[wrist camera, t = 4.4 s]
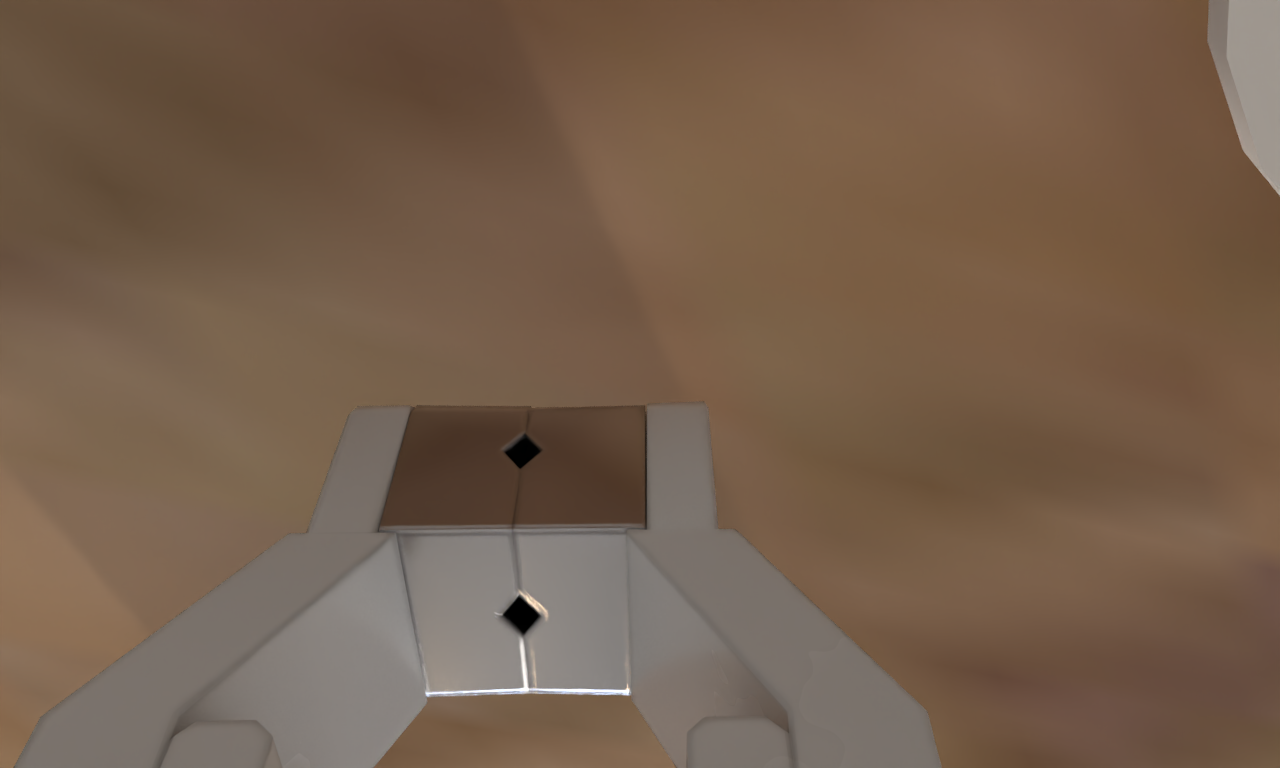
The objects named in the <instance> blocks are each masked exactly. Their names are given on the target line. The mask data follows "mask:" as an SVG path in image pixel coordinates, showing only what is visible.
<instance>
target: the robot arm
mask: <svg viewBox="0 0 1280 768" xmlns="http://www.w3.org/2000/svg"><path fill="white" fill-rule="evenodd" d="M646 445H647V458H646ZM524 693H537V694H594V695H632V701H633V703H634V704H635V706H636V707H637V709H638V710H639V712H640V713H641V715H642V716H643V718H644V719H645V721H646V722H647V724H648V725H649V727H650V728H651V730H652V731H653V733H654V734H655V736H656V737H657V739H658V740H659V742H660V743H661V745H662V746H663V748H664V749H665V751H666V752H667V754H668V755H669V757H670V759H671V760H672V762H673V763H674V765H675V766H676V768H942V767H941V763H940V759H939V756H938V752H937V748H936V744H935V740H934V736H933V732H932V728H931V724H930V720H929V716H928V712H927V710H925V709H924V708H923V707H922V706H921V705H920V704H919V703H918V702H917V701H916V700H915V699H914V698H913V697H912V696H911V695H910V694H909V693H908V692H907V691H905V690H904V689H903V688H902V687H901V686H900V685H899V684H898V683H897V682H896V681H895V680H894V679H893V678H892V677H891V676H890V675H889V674H888V673H887V672H886V671H884V670H883V669H882V668H881V667H880V666H879V665H878V664H877V663H876V662H875V661H874V660H873V659H872V658H871V657H870V656H869V655H868V654H867V653H866V652H864V651H863V650H862V649H861V648H860V647H859V646H858V645H857V644H856V643H855V642H854V641H853V640H852V639H851V638H850V637H849V636H848V635H847V634H846V633H845V632H843V631H842V630H841V629H840V628H839V627H838V626H837V625H836V624H835V623H834V622H833V621H832V620H831V619H830V618H829V617H828V616H827V615H826V614H825V613H823V612H822V611H821V610H820V609H819V608H818V607H817V606H816V605H815V604H814V603H813V602H812V601H811V600H810V599H809V598H808V597H807V596H806V595H805V594H804V593H802V592H801V591H800V590H799V589H798V588H797V587H796V586H795V585H794V584H793V583H792V582H791V581H790V580H789V579H788V578H787V577H786V576H785V575H784V574H782V573H781V572H780V571H779V570H778V569H777V568H776V567H775V566H774V565H773V564H772V563H771V562H770V561H769V560H768V559H767V558H766V557H765V556H764V555H762V554H761V553H760V552H759V551H758V550H757V549H756V548H755V547H754V546H753V545H752V544H751V543H750V542H749V541H748V540H747V539H746V538H745V537H744V536H743V535H741V534H740V533H739V532H738V531H737V530H736V529H718V520H717V508H716V496H715V484H714V472H713V460H712V447H711V435H710V423H709V411H708V407H707V405H706V404H705V402H704V401H699V402H674V403H650V404H647V413H646V412H645V406H590V407H535V408H532V407H531V406H434V405H417V406H416V407H413V406H410V405H403V406H357V407H356V408H355V409H354V410H353V411H352V412H351V413H350V414H349V415H348V416H347V419H346V422H345V425H344V428H343V430H342V433H341V436H340V439H339V442H338V445H337V447H336V450H335V453H334V456H333V459H332V461H331V464H330V467H329V470H328V473H327V476H326V478H325V481H324V484H323V487H322V490H321V492H320V495H319V498H318V501H317V504H316V507H315V509H314V512H313V515H312V518H311V521H310V523H309V526H308V529H307V532H306V533H289V534H287V535H286V536H284V537H283V538H282V539H280V540H279V541H278V542H276V543H275V544H274V545H272V546H271V547H270V548H268V549H267V550H266V551H264V552H263V553H261V554H260V555H259V556H257V557H256V558H255V559H253V560H252V561H251V562H249V563H248V564H247V565H245V566H244V567H243V568H241V569H240V570H239V571H237V572H236V573H234V574H233V575H232V576H230V577H229V578H228V579H226V580H225V581H224V582H222V583H221V584H220V585H218V586H217V587H216V588H214V589H213V590H211V591H210V592H209V593H207V594H206V595H205V596H203V597H202V598H201V599H199V600H198V601H197V602H195V603H194V604H193V605H191V606H190V607H189V608H187V609H186V610H184V611H183V612H182V613H180V614H179V615H178V616H176V617H175V618H174V619H172V620H171V621H170V622H168V623H167V624H166V625H164V626H163V627H161V628H160V629H159V630H157V631H156V632H155V633H153V634H152V635H151V636H149V637H148V638H147V639H145V640H144V641H143V642H141V643H140V644H139V645H137V646H136V647H134V648H133V649H132V650H130V651H129V652H128V653H126V654H125V655H124V656H122V657H121V658H120V659H118V660H117V661H116V662H114V663H113V664H111V665H110V666H109V667H107V668H106V669H105V670H103V671H102V672H101V673H99V674H98V675H97V676H95V677H94V678H93V679H91V680H90V681H89V682H87V683H86V684H84V685H83V686H82V687H80V688H79V689H78V690H76V691H75V692H74V693H72V694H71V695H70V696H68V697H67V698H66V699H64V700H63V701H61V702H60V703H59V704H57V705H56V706H55V707H53V708H52V709H51V710H49V711H48V712H47V713H45V714H44V715H43V716H41V717H40V719H39V721H38V723H37V725H36V727H35V729H34V730H33V732H32V734H31V736H30V738H29V740H28V742H27V744H26V745H25V747H24V749H23V751H22V753H21V755H20V757H19V759H18V760H17V762H16V764H15V766H14V768H374V766H375V765H376V764H377V763H378V762H379V760H380V759H381V758H382V757H383V756H384V754H385V753H386V752H387V751H388V750H389V748H390V747H391V746H392V745H393V744H394V742H395V741H396V740H397V739H398V738H399V736H400V735H401V734H402V733H403V732H404V730H405V729H406V728H407V727H408V726H409V724H410V723H411V722H412V721H413V720H414V718H415V717H416V716H417V715H418V714H419V712H420V711H421V710H422V709H423V708H424V706H425V705H426V704H427V698H426V697H440V696H468V695H496V694H524Z"/></svg>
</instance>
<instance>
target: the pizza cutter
mask: <svg viewBox="0 0 1280 768" xmlns="http://www.w3.org/2000/svg"><path fill="white" fill-rule="evenodd" d="M1208 44H1209V47H1210V50H1211V54H1212V57H1213V60H1214V63H1215V66H1216V69H1217V72H1218V75H1219V78H1220V81H1221V84H1222V88H1223V91H1224V94H1225V97H1226V100H1227V103H1228V106H1229V109H1230V112H1231V115H1232V118H1233V121H1234V125H1235V128H1236V131H1237V134H1238V137H1239V140H1240V143H1241V146H1242V149H1243V151H1244V152H1245V154H1246V155H1247V156H1248V157H1249V159H1250V160H1251V161H1252V162H1253V163H1254V165H1255V166H1256V167H1257V168H1258V170H1259V171H1260V172H1261V173H1262V175H1263V176H1264V177H1265V178H1266V180H1267V181H1268V182H1269V183H1270V184H1271V186H1272V187H1273V188H1274V189H1275V191H1276V192H1277V193H1278V194H1279V196H1280V0H1209V13H1208Z"/></svg>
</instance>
